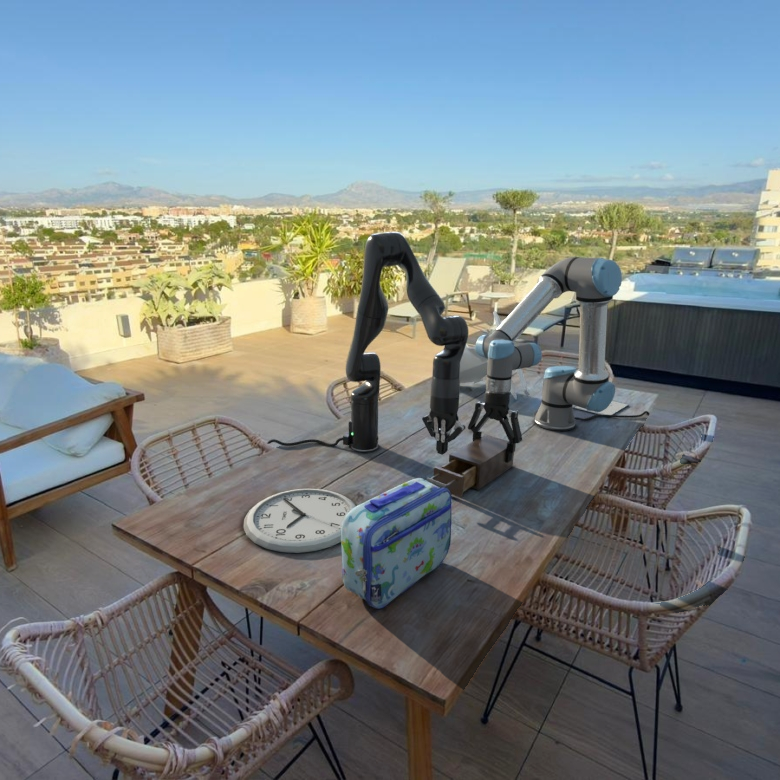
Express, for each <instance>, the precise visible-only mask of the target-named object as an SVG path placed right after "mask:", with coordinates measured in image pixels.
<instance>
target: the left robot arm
mask: <svg viewBox="0 0 780 780" xmlns="http://www.w3.org/2000/svg"><path fill="white" fill-rule="evenodd" d="M396 266H397V267H399V268H400V269H401V270H402V271H403V273H404V276H405V281H406V284H405V288H406V289H405V290H406V296H407V298H408V301H409V302H410V304H411V305H412V306H413V308H414V309H415V311H416V312H417V313H418V315H419V316H420V319H421V323H422V324H423V328H424V331H425V334H426V336H427V338H428V339H429V341H430V342H431V343H432V344H433V345H435V346H437V347H443V349H442V350H441V351H440V352H438V353H436V354H435V355H434V356H433V359H432V360H433V361H432V374H431V382H430V399H429V400H430V401H429V408H430V410H429V413H428V414H427V415H425V416H423V417H422V418H421V419H422V422H423V424H424V426H425V428H426V429H427V432H428V433H429V436H430V437H432V438H434V439H435V440H436V441H435V446H436V447H435V450H436V452H437V454H438V455H442V456H443V455H445V454H446V453H447V452H448V451H449V443H450V442H452V441H454V440H456V438H458V437H459V436H460V435H461V434H462V433H463V431H465V429H466V426H465V424H461V423H460V421H459V420H460V419H459V415H458V412H459V406H460V393H461V389H460V388H461V383H460V381H459V375H460V361H461V358H462V356H463V353H464V349H465V346H466V344H468V339H469V325H468V323H467V321H466V320H465V318H463V316H460V315H452V316H445V317H444V316H442V315H443V313H444V311H445V309H446V305H445V301H444V300H443V299H442V297H441V296H440V295H439V294H438V292H437V291H436V289H435V288H434V287H433V286H432V284H431V283H430V281H429V280H428V278H427V276H426V275H425V273H424V271H423V269H422V267H421V265H420V264H419V261H418V259H417V257H416V255H415V253H414V251H413V249H412V247H411V246H410V244H409V242H408V239H406V237H405V236H404V235H403V234H402V233H401V232H398V231H390V232H389V231H388V232H379V233H372V234H371V235H369V236H368V238H367V240H366V243H365V247H364V254H363V269H362V278H361V279H362V280H361V287H360V293H359V299H358V304H357V307H356V308H357V309H356V312H355V319H354V320H355V322H354V328H353V333H352V339H351V342H350V347H349V349H348V353H347V358H346V360H345V376H346V379H347V380H348V381H349V382H352V383H360V382H364V383H363V384H362V385H360V386H359V387H357V388H355V389H353V390H352V391H351V392H350V420H349V421H348V432H347V433H345V434H344V435H343V436H342V437H338V438H337V439H336V440H335V441H334V442H333V443H328V442H325V441H323V440H320V439H313V438H312V439H304V440H298V441H294V442H282V441H280V440H278V439H275V438H273V439H269V440H268V441H267V442H266V444H268V445H269V444H272V443H275V444H278V445H280V446H283V447H284V446H285V447H292V446H298V445H302V444H306V443H317V444H319V445H320V444H321V445H323V446H326V447H336V446H338V444H339V442H342V445H344V446H348V449H351V450H352V451H353V452H354V451H355V452H358V453H373V452H374V451H376V450H378V449H379V395H380V387H381V386H380V384H381V372H382V371H381V368H382V367H381V366H382V365H381V360H380V357H379V355H378V354H377V353H376V352H365V351H366V350H367V348H368V347H369V346H370V344H372V342H373V341H374V340H375V339H376V338H377V337H378V336H379V335H380V334H381V333H382V331H383V330H384V328H385V326H386V322H387V317H388V314H389V313H388V312H389V302H388V299H387V297H386V295H385V293H384V290H383V288H382V286H381V276H382V272H383V269H384V268H390V267H396Z"/></svg>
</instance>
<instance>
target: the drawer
mask: <svg viewBox="0 0 780 780" xmlns="http://www.w3.org/2000/svg"><path fill="white" fill-rule="evenodd" d="M476 479H477V466H474V465H471V464H468V463H465V462H462V461H459V460H456V459H453V460H452V461H450V462H449V461H448V462H446V463H444V464H443V465H441V467H440V466H438V465H437V466H434V467H433V475H432V476H431V477H426V478H425V480H426V481H428V482H430V483H432V484H434V485H435V486H437V487H439V488H442V487H444V488H447V489H448V490H449V491H450V494H451V495H453V496H456V497H457V498H462V497H464V492H466V491H468V489H470V488H471V486H473V485H474V484H476Z"/></svg>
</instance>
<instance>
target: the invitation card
mask: <svg viewBox="0 0 780 780" xmlns="http://www.w3.org/2000/svg"><path fill="white" fill-rule="evenodd" d="M628 406H629V404H627V403H623V402H618V401H614V400H612V402H611V403H610V405H609V406H608V407H607V408H606V409H605V410H603V411H601V412H594V411H589V410H587V409H584V408H581V407H578V406H574V407H573V409H575V410H581V411H584V412H587V413H593V414H595V415H615V414H616V413H617V412H619V411H621V410H623V409H624V408H626V407H628Z"/></svg>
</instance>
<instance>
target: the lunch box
mask: <svg viewBox="0 0 780 780" xmlns="http://www.w3.org/2000/svg"><path fill="white" fill-rule="evenodd" d="M451 539H452V494H450V491H449V490H448V489H447V488H444V487H442V488H439V487H437V486H435V485H434V484H432V483H430V482H428V481H426V479H424V478H421V477H416V478H413V479H410V480H408V481H405V482H403V483H402V484H398V485H397V486H395V487H392V488H390V489H389V490H386V491H384V492H382V493H380V494H378V495H375V496H374V497H372V498H370V499H369V500H366V501H364V502H363V503H360V504H358V505H356V507H354V508H353V509H351V510H350V511H349V512H348V514H347V515H346V517H345V518H344V520H343V523H342V528H341V542H340V546H341V569H342V570H341V571H342V582H343V585H344V588H345V589H346V590H347V591H349V592H351V593H353V594H355V595H356V596H358V597H359V598H361V599H362V600H364V601H365V602H366V603H367V605H368V606H370V607H372V608H374V609H378V610H379V609H380V610H381V609H383V608H384V607H387V605H389V604H390V603H391V602H392V601H393V600H395V599H396V598H397V597H399V596H400V595H402V594H403V593H404V592H405V591H407V590H408V589H409V588H411V587H412V586H413V585H415V584H416V583H418V581H419V580H420V579H421V578H423V577H425V576H427V575H428V574H429V573H431V572H432V571H434V570H435V569H437V568H438V567H439V566H441V564H442V563H443V562H444V561H445V559H446V557H447V556H448V554H449V550H450V547H451V541H452V540H451Z"/></svg>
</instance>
